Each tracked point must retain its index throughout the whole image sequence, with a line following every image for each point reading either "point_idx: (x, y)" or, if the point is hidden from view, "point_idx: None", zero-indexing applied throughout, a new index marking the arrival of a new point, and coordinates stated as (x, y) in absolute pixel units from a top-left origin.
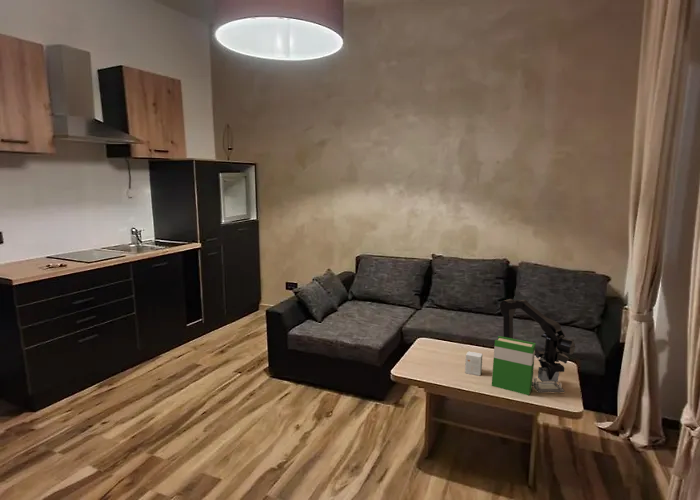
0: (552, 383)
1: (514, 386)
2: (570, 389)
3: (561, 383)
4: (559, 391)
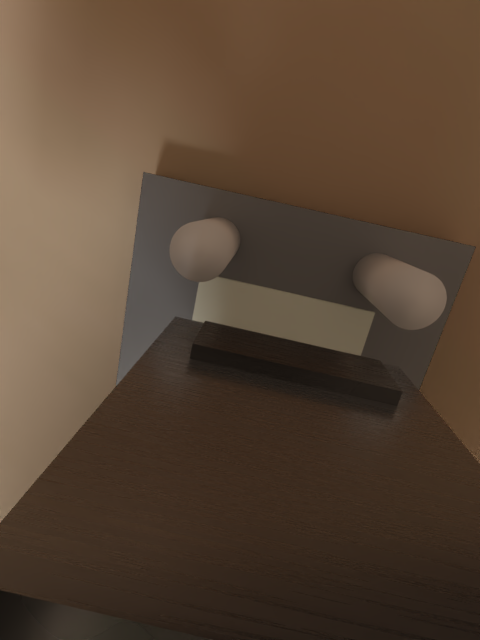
0: (176, 270)
1: None
2: (391, 28)
3: (444, 292)
4: (433, 330)
